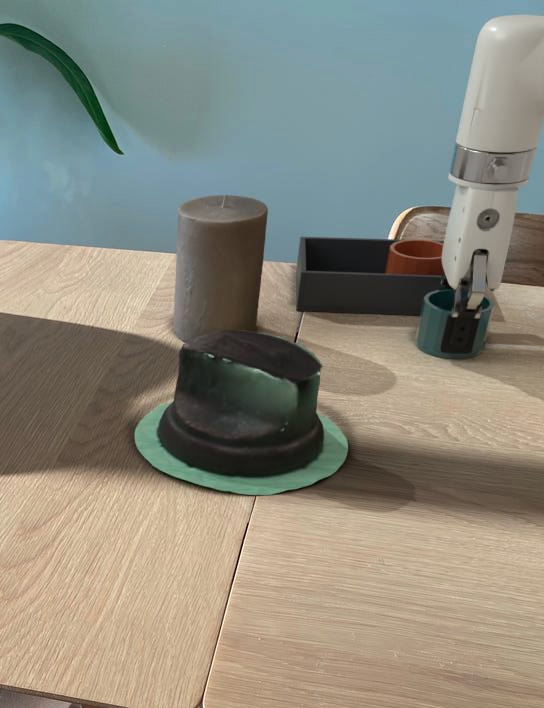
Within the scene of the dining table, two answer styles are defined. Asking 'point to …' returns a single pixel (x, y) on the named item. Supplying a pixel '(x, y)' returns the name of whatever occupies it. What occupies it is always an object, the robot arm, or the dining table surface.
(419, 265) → the orange cup
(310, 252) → the tub
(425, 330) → the teal cup
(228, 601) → the dining table surface
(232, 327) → the pillar candle
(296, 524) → the dining table surface
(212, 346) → the dark hat
